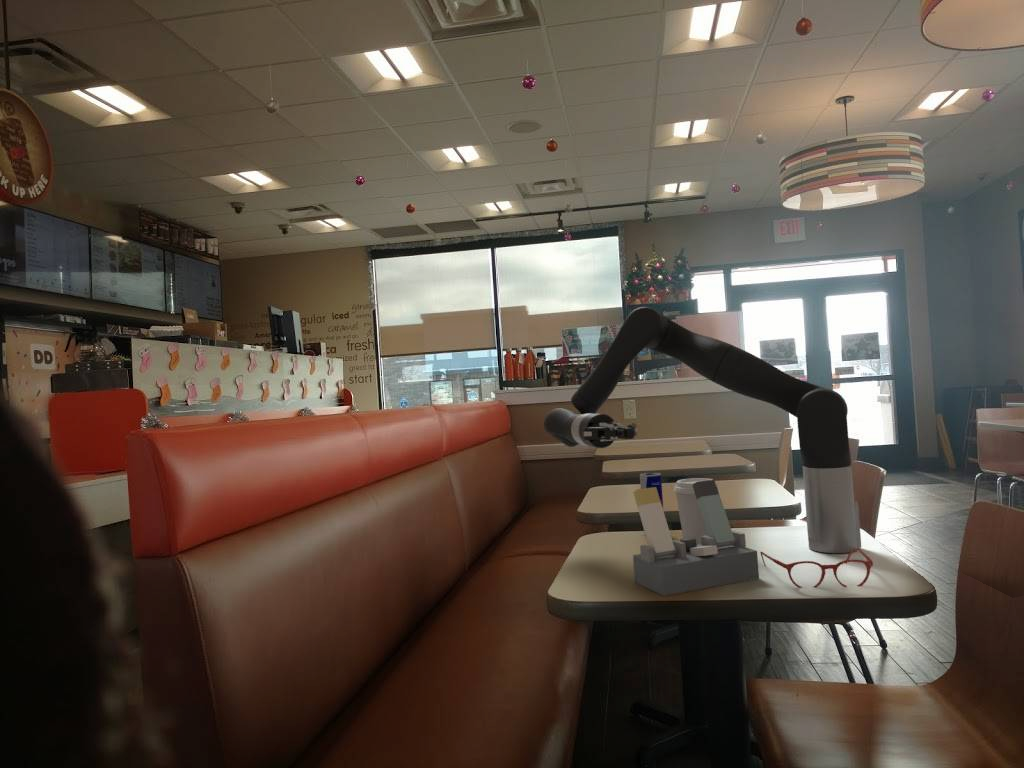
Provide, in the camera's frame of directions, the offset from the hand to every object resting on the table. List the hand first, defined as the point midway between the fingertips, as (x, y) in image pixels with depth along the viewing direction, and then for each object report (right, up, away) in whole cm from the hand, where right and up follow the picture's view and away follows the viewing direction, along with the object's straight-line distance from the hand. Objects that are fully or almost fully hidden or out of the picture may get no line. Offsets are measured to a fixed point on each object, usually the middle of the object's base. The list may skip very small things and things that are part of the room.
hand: (630, 433), depth 134 cm
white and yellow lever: (+4, -21, -12) cm, 24 cm away
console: (+10, -26, -10) cm, 30 cm away
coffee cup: (+17, -26, +12) cm, 34 cm away
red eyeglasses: (+32, -25, -12) cm, 43 cm away
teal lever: (+16, -20, -8) cm, 27 cm away
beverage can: (+11, -27, +30) cm, 42 cm away
